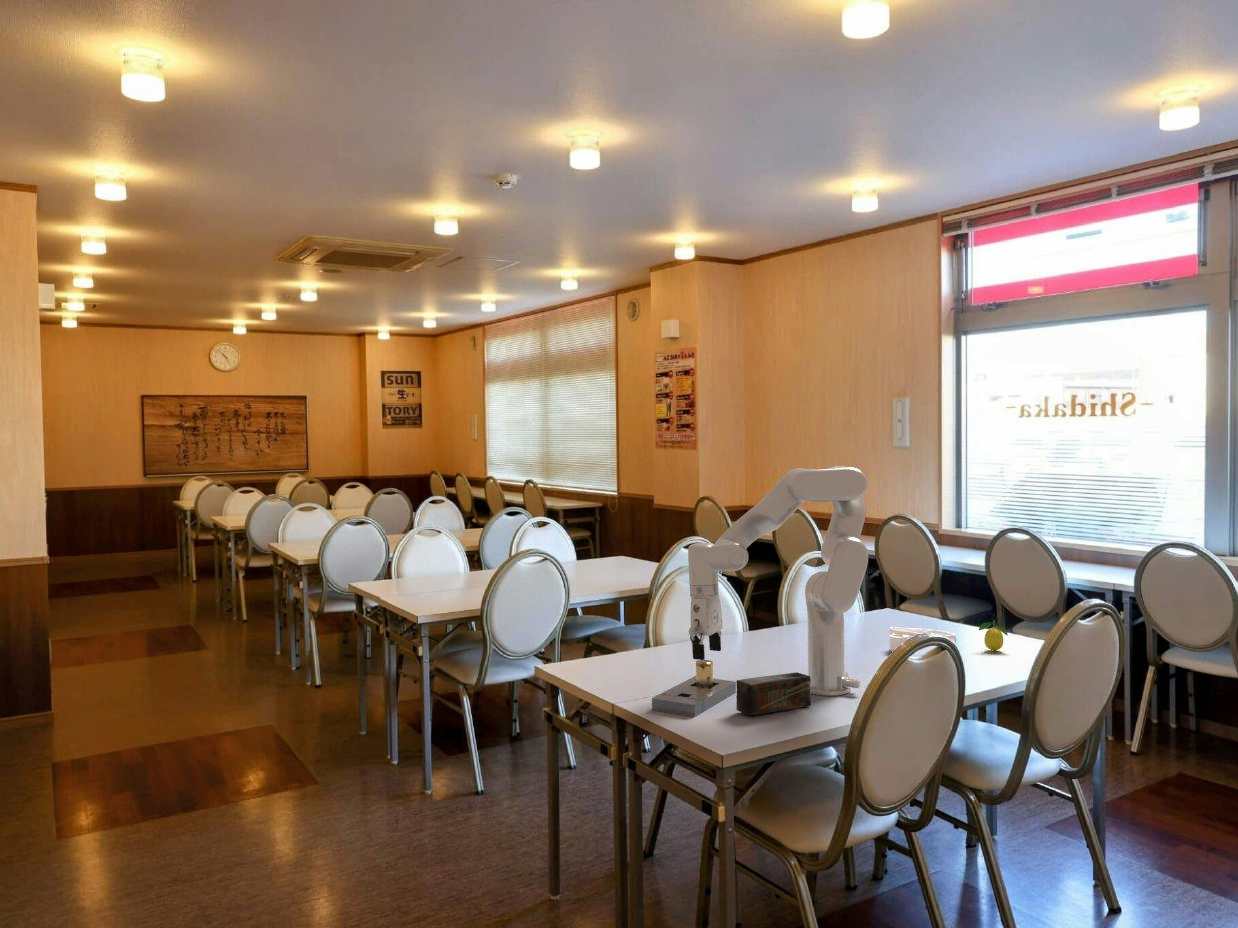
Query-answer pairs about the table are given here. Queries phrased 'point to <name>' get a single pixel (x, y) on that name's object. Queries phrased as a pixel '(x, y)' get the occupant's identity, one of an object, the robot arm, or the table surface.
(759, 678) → the beverage carton
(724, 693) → the block
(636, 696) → the table surface
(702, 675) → the cylinder
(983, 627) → the lemon
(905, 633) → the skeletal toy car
